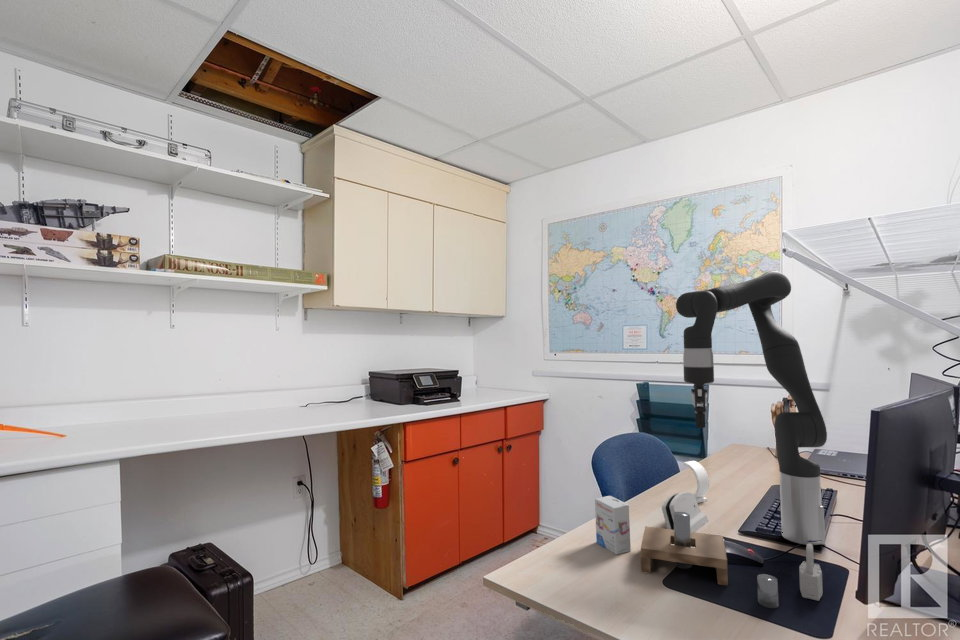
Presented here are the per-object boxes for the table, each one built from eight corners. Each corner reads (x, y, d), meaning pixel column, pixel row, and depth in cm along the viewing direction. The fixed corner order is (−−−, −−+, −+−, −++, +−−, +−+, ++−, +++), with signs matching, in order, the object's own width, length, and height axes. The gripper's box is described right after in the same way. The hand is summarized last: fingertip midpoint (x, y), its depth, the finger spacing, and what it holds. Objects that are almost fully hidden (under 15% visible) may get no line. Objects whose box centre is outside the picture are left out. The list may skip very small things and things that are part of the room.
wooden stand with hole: (723, 558, 122) (722, 535, 122) (727, 585, 109) (727, 560, 109) (645, 547, 129) (645, 526, 129) (641, 572, 116) (640, 548, 116)
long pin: (691, 563, 120) (689, 512, 120) (691, 569, 116) (689, 517, 117) (675, 560, 121) (673, 510, 121) (674, 567, 118) (673, 515, 118)
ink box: (594, 542, 133) (593, 497, 133) (610, 539, 135) (609, 494, 135) (615, 555, 125) (614, 507, 125) (631, 551, 127) (630, 504, 127)
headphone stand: (694, 496, 168) (693, 460, 168) (710, 501, 163) (708, 464, 163) (684, 498, 166) (683, 462, 166) (699, 504, 161) (698, 466, 161)
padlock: (822, 602, 101) (820, 552, 102) (798, 597, 104) (797, 548, 104) (823, 588, 107) (821, 540, 107) (800, 582, 110) (799, 536, 110)
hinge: (686, 538, 134) (673, 500, 137) (670, 539, 137) (657, 502, 140) (708, 520, 146) (695, 486, 149) (693, 522, 149) (681, 488, 152)
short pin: (774, 598, 103) (773, 574, 103) (781, 608, 99) (780, 583, 99) (755, 597, 104) (754, 573, 104) (762, 607, 100) (761, 582, 100)
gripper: (714, 366, 128) (717, 430, 127) (712, 363, 141) (714, 421, 140) (683, 366, 131) (685, 429, 130) (683, 363, 144) (685, 420, 143)
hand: (700, 424), depth 135 cm, fingers open, 8 cm apart
